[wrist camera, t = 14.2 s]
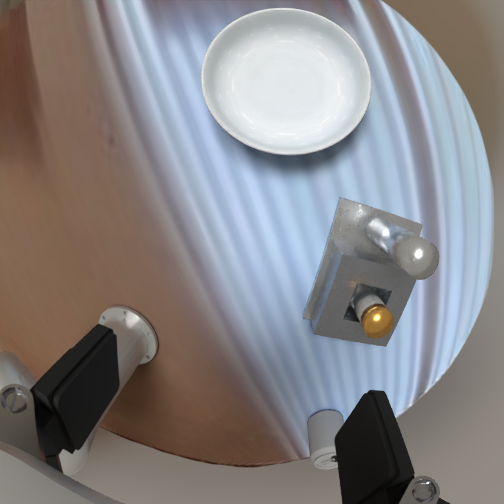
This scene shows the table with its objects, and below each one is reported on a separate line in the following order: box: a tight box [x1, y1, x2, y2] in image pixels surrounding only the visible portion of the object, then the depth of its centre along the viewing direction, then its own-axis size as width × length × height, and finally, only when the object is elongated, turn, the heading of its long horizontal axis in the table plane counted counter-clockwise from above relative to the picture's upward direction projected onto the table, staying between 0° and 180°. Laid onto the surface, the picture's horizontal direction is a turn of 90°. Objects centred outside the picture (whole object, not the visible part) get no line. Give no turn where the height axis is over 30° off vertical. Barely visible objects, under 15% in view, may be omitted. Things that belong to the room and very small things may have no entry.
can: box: [308, 410, 344, 469], centre depth 44 cm, size 8×8×12 cm
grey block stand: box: [303, 197, 439, 346], centre depth 33 cm, size 19×14×15 cm
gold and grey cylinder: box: [350, 283, 394, 339], centre depth 36 cm, size 4×4×10 cm
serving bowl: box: [201, 8, 371, 155], centre depth 31 cm, size 21×21×7 cm
